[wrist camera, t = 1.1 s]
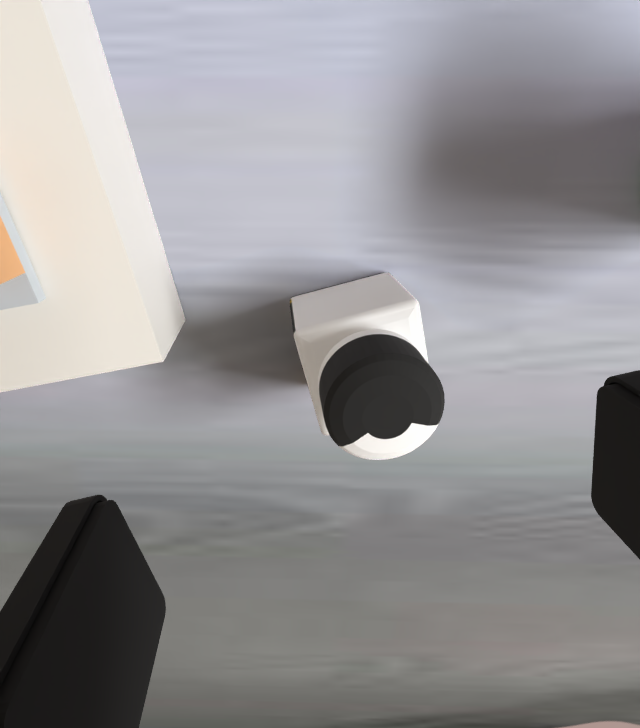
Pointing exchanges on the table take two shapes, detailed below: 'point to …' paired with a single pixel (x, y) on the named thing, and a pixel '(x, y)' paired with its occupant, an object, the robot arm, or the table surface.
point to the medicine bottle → (368, 366)
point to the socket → (75, 206)
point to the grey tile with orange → (15, 267)
